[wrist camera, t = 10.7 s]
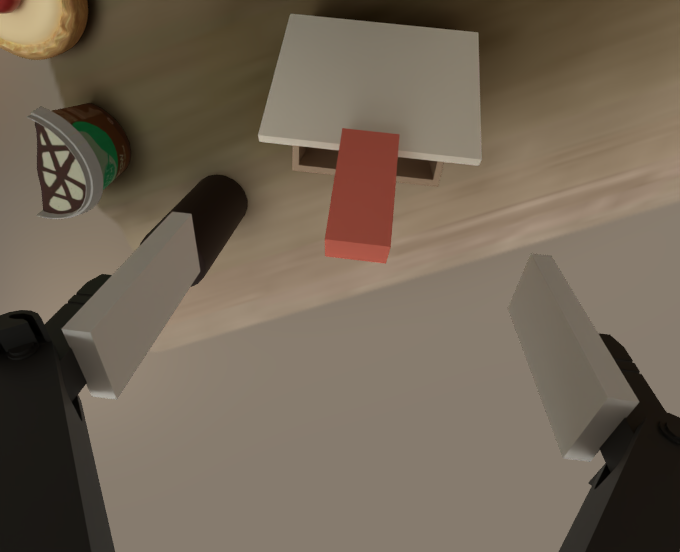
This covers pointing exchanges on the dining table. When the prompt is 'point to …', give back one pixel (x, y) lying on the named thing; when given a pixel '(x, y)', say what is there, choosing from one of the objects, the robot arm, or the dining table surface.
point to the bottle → (211, 216)
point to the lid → (373, 113)
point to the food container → (77, 157)
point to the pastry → (41, 26)
